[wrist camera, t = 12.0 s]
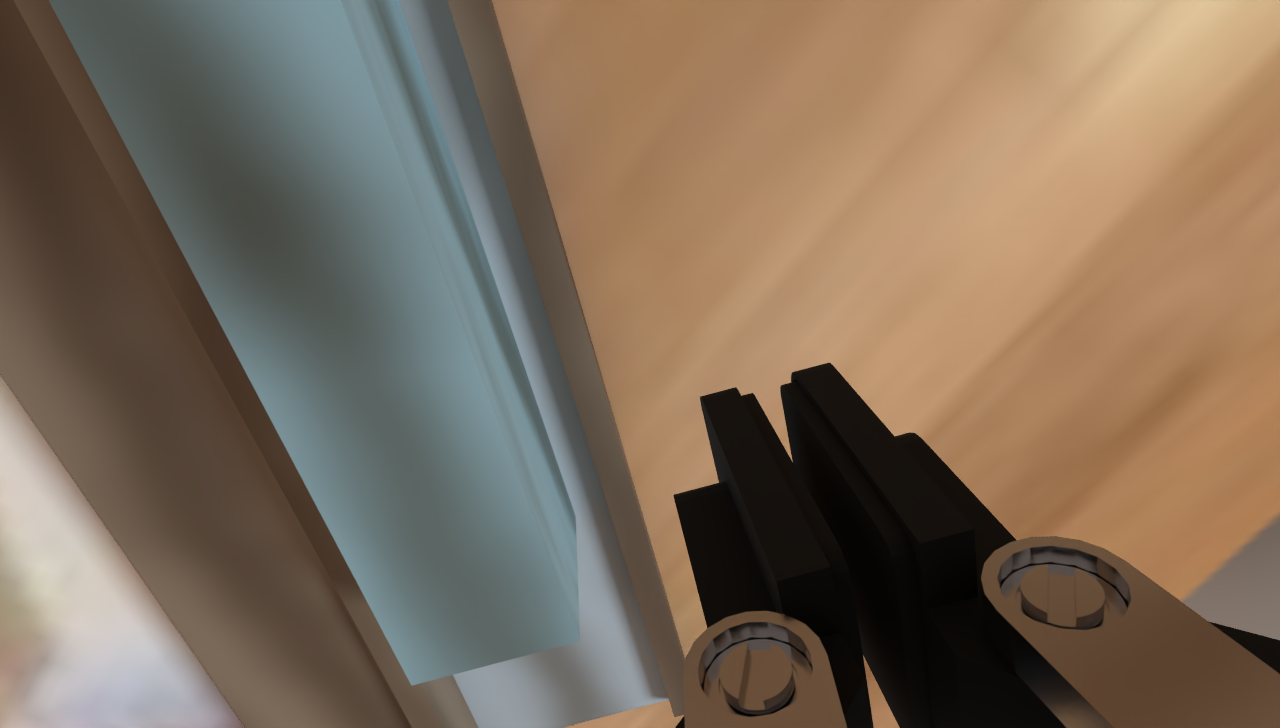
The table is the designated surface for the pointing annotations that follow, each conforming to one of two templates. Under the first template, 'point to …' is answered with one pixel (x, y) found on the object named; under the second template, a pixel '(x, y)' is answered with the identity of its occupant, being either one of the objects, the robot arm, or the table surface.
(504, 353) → the teal rectangular block
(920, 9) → the table surface
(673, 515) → the table surface
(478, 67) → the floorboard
